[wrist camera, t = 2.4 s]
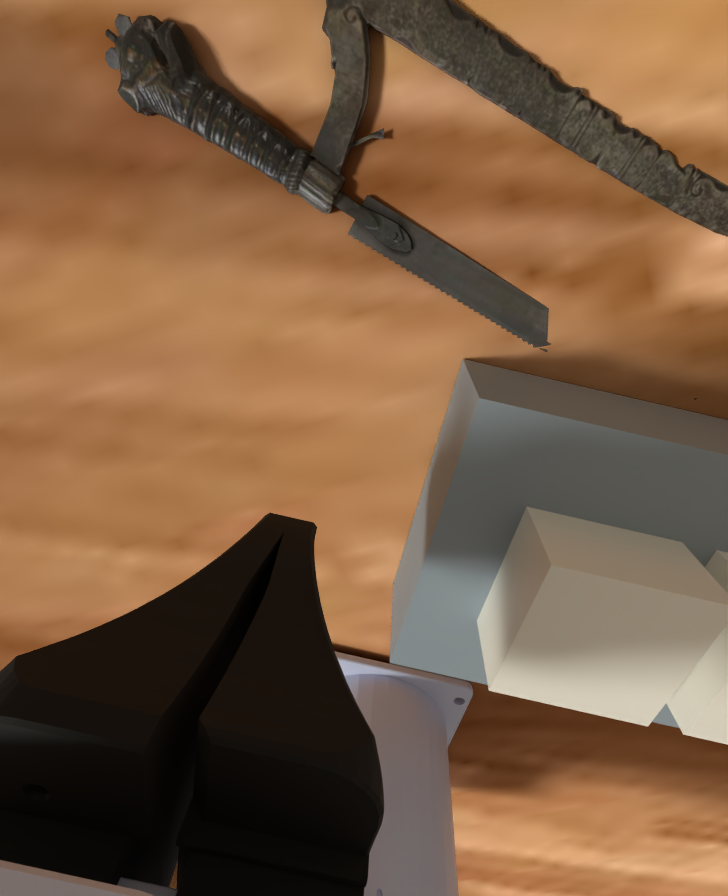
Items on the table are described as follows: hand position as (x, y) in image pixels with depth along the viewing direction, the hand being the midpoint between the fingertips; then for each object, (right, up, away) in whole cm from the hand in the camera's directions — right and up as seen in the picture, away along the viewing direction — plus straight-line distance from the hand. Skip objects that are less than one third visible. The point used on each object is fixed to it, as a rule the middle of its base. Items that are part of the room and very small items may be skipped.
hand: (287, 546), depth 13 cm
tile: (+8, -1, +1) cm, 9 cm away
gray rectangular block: (+11, 0, +5) cm, 12 cm away
